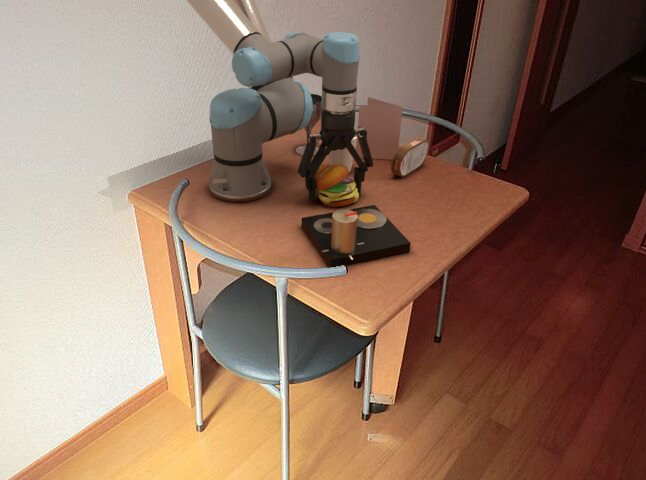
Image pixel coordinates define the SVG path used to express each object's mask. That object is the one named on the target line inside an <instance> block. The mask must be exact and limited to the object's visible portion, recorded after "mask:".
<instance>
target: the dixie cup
mask: <svg viewBox="0 0 646 480" xmlns="http://www.w3.org/2000/svg"><path fill="white" fill-rule="evenodd" d="M357 138H358V137H356V135H355V136H354V138H353V139H352V140H351V143H352V145H353V146H354V148H355V149H356V148H357ZM328 161H329V162H328V163H329V165H332V164H339V163H340V164H342V165H344V166H345V167H346V168H347V169H348V170H349V173H350V172H351V171H352V167H353V161H354V159H353V158H352V156H351V154H350V153H349V151H348V150H347V148H345V149H343V150H340V149H338V150H336V151H332V150H331V152H330V153H329V155H328Z"/></svg>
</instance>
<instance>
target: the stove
mask: <svg viewBox="0 0 646 480" xmlns="http://www.w3.org/2000/svg"><path fill="white" fill-rule="evenodd" d="M358 209H374V210H377V211H380V212H382V210H380V208H379V207H378V206H377V205H376V204H372V205H365V206H361V207H355V208H349V209H348V210H351V211H355V210H358ZM334 212H335V211H333V212H326V213H321V214H315V215H311V216H310V215H309V216H304V217H301V223H300V224H301V227H300V228H301V229H302V230H303V232H304V233H305V235H306V237H307V238H308V239H309V241H310V242H311V244H312V245H313V246H314V248H315V249H316V251H317V252H318V254H319V255H320V257H321V258H322V259H323V261H324V263H325V264H326V265H327V267H328V268H329V267H336V266H341V265H345V266H344V267H348V266H353V265H358V264H362V263H367V262H373V261H377V260H381V259H387V258H390V257H391V258H392V257H395V256H400V255H405V254H409V253H410V252H411V242H410V240H409V239H408V238H407V237H406V236H405V235H404V234H403V233H402V232H401V231H400V230H399V229H398V228H397V226H396V225H395V224H393V223H392V221H391V220H390V219H389V218H388V217H387V216H386V218H387V221H386V224H385V225H384V226H383V227H381V228H378V229H371V230H368V229H361V228H358V227H357V234H356V248H355V251H354V252H352V253H350V254H338V253H336V252H334V251H333V250H332V249H331V234H322V233H319V232H317V231H316V230H315V229H314V223H315V222H316V221H317V220H320V219H324V218H330V219H332V214H333V213H334Z"/></svg>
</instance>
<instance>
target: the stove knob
mask: <svg viewBox="0 0 646 480" xmlns="http://www.w3.org/2000/svg"><path fill="white" fill-rule="evenodd" d="M333 212H334V213H333V214H332V234H331V249H332V250H333V251H334V252H336V253H338V254H350V253H352V252H354V251H355V248H356V234H357V221H358V215H357V212H354V211H351V210H349V209H347V208H346V209H345V208H343V209H338V210H335V211H333Z"/></svg>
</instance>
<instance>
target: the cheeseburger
mask: <svg viewBox="0 0 646 480" xmlns="http://www.w3.org/2000/svg"><path fill="white" fill-rule="evenodd" d="M349 174H350V172H349V170H348V169H347V168H346V167H345V166H344V165H342V164H340V163H339V164H332V165H330V164H327V165H321V166H320V167H319V169H318V170H317V172H316V173H315V175H314V177H315V178H316V194H317V197H318V199H319V201H320V202H321V203H322V204H324V205H325V206H327V207H331V208H338V207H344V206H348V205H351V204H352V203H356V202H357V201H358V200H359V198H360V196H359V193H358V192H357V191H358V189H357V188H356V185H357V184H356V182H355V181H354V178H352V177H350V176H349V177H348V175H349Z"/></svg>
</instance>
